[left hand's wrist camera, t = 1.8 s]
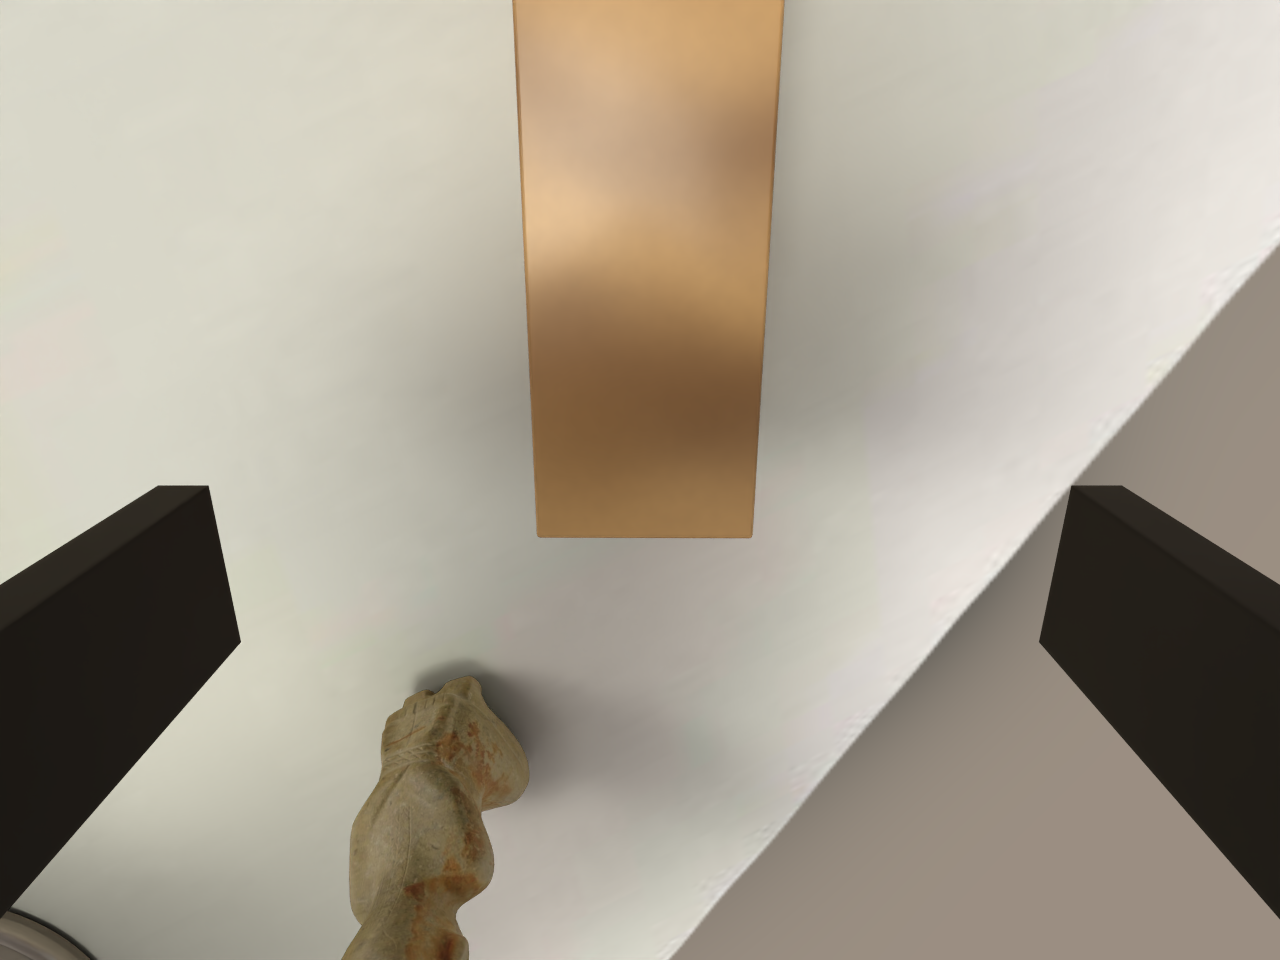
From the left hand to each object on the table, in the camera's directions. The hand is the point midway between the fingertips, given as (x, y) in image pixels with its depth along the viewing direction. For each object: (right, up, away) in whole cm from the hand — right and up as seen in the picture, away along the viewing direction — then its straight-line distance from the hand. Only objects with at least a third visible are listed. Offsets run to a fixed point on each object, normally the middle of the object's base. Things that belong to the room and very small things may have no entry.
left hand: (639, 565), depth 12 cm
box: (0, +14, +17) cm, 22 cm away
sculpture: (-8, -10, +26) cm, 29 cm away
